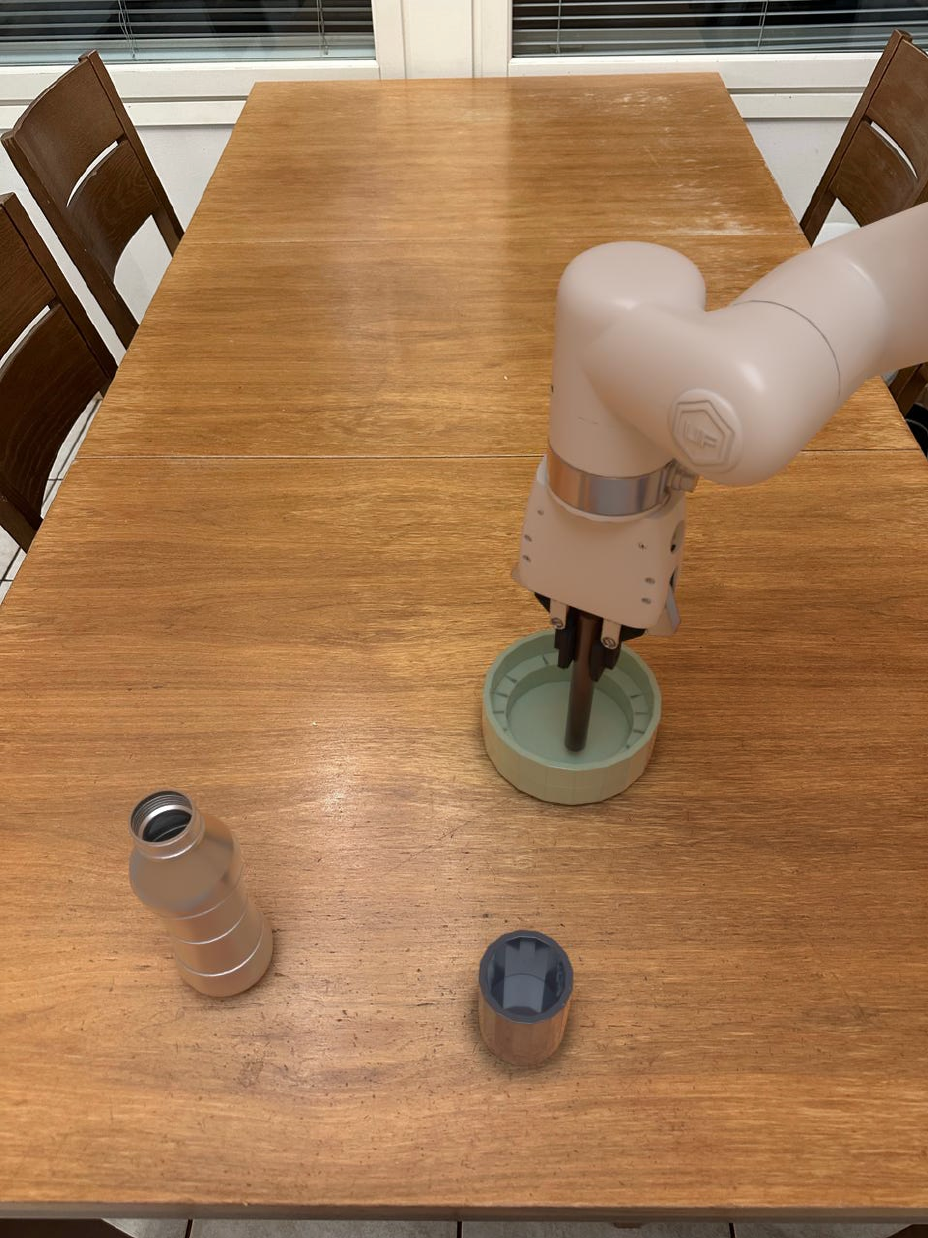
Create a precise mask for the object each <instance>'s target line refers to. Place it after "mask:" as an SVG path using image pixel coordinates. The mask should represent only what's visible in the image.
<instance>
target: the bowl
mask: <svg viewBox="0 0 928 1238" xmlns="http://www.w3.org/2000/svg"><path fill="white" fill-rule="evenodd" d="M555 629H556V628H551V629H542V630H539V631H536V632H533V633H531V634H529V635H526V636H525V635H524V636H523V637H520V638H518V639H516V641H514V642H513V643H511V644H510V645H509V646H507V647H506V648H504V649H503V650H502V651H500V652H499V653H498V655H497V656H496V658H495V659H494V661H493V662H492V664H491V665H490V666H489V668H488V670H487V671H486V673H485V678H484V683H483V687H482V692H481V711H482V712H481V717H482V718H481V723H482V724H481V730H482V731H481V732H482V737H483V742H484V747H485V748H484V749H485V751H486V754H487V755H488V757H489V759H490V761H491V762H492V764H493V765H494V767H495V769H496V771H497V772H498V773H499V774H500V775H501V776H502V777H503V778H505V779H506V780H507V782H509V783H510V784H511V785H512V786H513V787H515V788H516V789H517V790H519V791H522V792H524V793H525V794H527V795H530V796H532V797H534V798H536V799H539V800H540V801H544V802H550V803H554V804H555V803H556V804H562V805H570V806H572V805H573V806H575V805H583V804H591V803H599V802H602V801H604V800H605V801H606V800H607V799H610V798H611V797H614V796H615V795H618V794H621V793H623V792H625V791H626V790H627V789H628V788H629V787H630V786H631V785H633V783H634V782H635V781H637V780H638V779H639V778H640V777H641V776H642V775H643V773H644V772H645V769H646V767H647V765H648V763H649V761H650V759H651V757H652V755H653V752H654V747H655V743H656V739H657V736H658V731H659V727H660V721H661V716H662V701H663V699H662V698H663V696H662V693H661V689H660V686H659V684H658V681H657V679H656V675H655V673H654V672H653V670H652V669H651V668H650V666H649V665H648V664H647V663H646V661H645V660H644V659H643V657H641V656H640V654H639V653H637V652H636V651H634V650H633V649H632V648H630V647H628V646H627V645H626V644H625V643H624V642H622V644H621V650H620V655H619V658H618V661H617V663H616V665H615V667H614V668H613V670H610V669H607V668H605V670H604V672H603V674H602V675H601V677H600V679H599V681H598V682H595V685H594V692H593V700H592V707H591V714H590V721H589V728H588V735H587V742H586V746H585V748H584V749H583V750H581V751H579V752H573V751H570V750H568V749H567V748H566V746H565V744H564V738H565V729H566V720H567V711H568V702H569V693H570V684H571V674H572V665H573V661H572V663H571V664H570V666H569V668H568V669H566V668H565V669H561V668H559V667H558V655H559V650H558V649H556V648H554V641H555Z"/></svg>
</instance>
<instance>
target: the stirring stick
mask: <svg viewBox="0 0 928 1238" xmlns="http://www.w3.org/2000/svg"><path fill="white" fill-rule="evenodd" d="M603 623H604V618H603V617H600V616H597V615H594V614H592V613H589V612H586V611H583V610H581V609H579V611H578V620H577V629H576V638H575V647H574V656H573V665H572V674H571V684H570V693H569V702H568V711H567V720H566V729H565V738H564V744H565V746H566V748H567V749H568V750H570V751H573V752H579V751H581V750H583V749H584V748H585V746H586V742H587V735H588V728H589V721H590V714H591V707H592V700H593V692H594V685H595V682H594V681H592V680H590V678H589V669H590V661H591V653H592V646H593V644H594V642H595V640H596V638H597V637H598V635H599V634H600V632H601V630H602V629H603Z"/></svg>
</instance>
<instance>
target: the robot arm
mask: <svg viewBox="0 0 928 1238" xmlns="http://www.w3.org/2000/svg"><path fill="white" fill-rule="evenodd" d="M555 301H556V302H555V315H554V316H555V317H554V332H553V346H552V347H553V349H552V365H551V380H550V381H551V382H550V394H549V395H550V396H549V397H550V399H549V414H548V429H547V443H546V445H547V446H546V452H545V454H544V455H543V457H542V459H541V461H540V462H539V464H538V466H537V469H536V472H535V474H534V477H533V480H532V484H531V487H530V489H529V494H528V497H527V501H526V507H525V510H524V515H523V520H522V526H521V532H520V539H519V546H518V557H517V562H516V564H515V565H514V566H513V568H512V570H511V571H510V574H509V575H510V578H511V580H513V581H514V582H515V583H517V584H518V585H520V586H521V587H522V588H524V589H525V590H527V591H528V592H530V593H532V592H533V594H534V598H536V600H537V601H538V602H539V603H540V605H541V606H542V607H543V608H544V609H545V610H546V612H547V613H548V614H549V618H548V619H549V620H548V621H549V624H550V626H551V627H553V629H555V641H554V648H556V649H558V650H559V655H558V667H559V668H561V669H565V668H566V669H568V668H569V666H570V664H571V663H572V661H573V656H574V647H575V638H576V629H577V620H578V611H579V609H581V610H583V611H586V612H589V613H592V614H594V615H597V616H600V617H603V618H604V622H603V629H602V630H601V632H600V634H599V635H598V637H597V638H596V640H595V642H594V644H593V646H592V653H591V661H590V669H589V678H590V680H592V681H594V682H598V681H599V679H600V677H601V675H602V674H603V672H604V670H605V668H607V669H610V670H613V668H614V667H615V665H616V663H617V661H618V658H619V655H620V650H621V644H622V643H624V642H627V641H631V640H634V639H637V638H640V637H643V636H644V635H648V636H649V637H660V638H661V637H662V638H673V637H675V635H676V633H677V631H678V630H679V628H680V625H681V624H682V619H681V616H680V613H679V609H678V605H677V602H676V601H677V600H676V599H675V593H676V592H677V588H678V587H679V586H678V585H679V583H680V579H681V576H682V575H681V574H682V569H683V564H684V563H683V562H684V553H685V546H686V545H685V544H686V534H687V533H686V532H687V517H688V516H687V513H688V512H687V510H688V509H687V495H686V494H687V493H691V494H693V493H694V492H695V490H696V488H697V485H698V483H699V480H700V477H701V478H704V479H705V480H707V481H710V482H713V483H716V484H718V485H721V486H727V487H731V488H746V487H752V486H755V485H759V484H761V483H764V482H766V481H768V480H769V479H771V478H773V477H775V476H777V474H779V473H780V472H782V470H784V469H785V468H786V467H787V466H788V465H789V464H790V463H791V462H792V461H793V460H794V459H795V458H796V457H797V456H798V455H799V454H800V453H801V452H802V450H804V448H805V447H806V446H807V445H808V444H809V443H810V442H811V441H812V439H813V438H814V437H815V436H816V435H817V434H818V433H819V432H820V431H821V430H822V429H823V428H824V427H825V426H826V424H827V423H828V422H829V421H830V420H831V419H832V417H833V416H835V414H836V413H837V412H838V411H839V410H840V409H841V408H842V407H843V406H844V404H846V402H847V401H848V400H849V399H850V398H851V397H852V396H854V394H855V393H856V392H857V391H858V390H859V389H860V388H862V386H863V385H864V384H865V383H866V382H867V381H869V380H871V379H874V378H876V377H879V376H882V375H886V374H888V373H891V372H895V371H898V370H902V369H905V368H909V367H912V366H917V365H920V364H924V363H927V362H928V201H926V202H923V203H921V204H918V205H915V206H913V207H910V208H907V209H905V210H902V211H899V212H897V213H894V214H891V215H889V216H886V217H884V218H882V219H879V220H876V221H874V222H871V223H868V224H867V225H864V226H861V227H859V228H856V229H853V230H852V231H848V232H846V233H844V234H841V235H839V236H836V237H833V238H831V239H829V240H826V241H824V242H821V243H819V244H817V245H815V246H813V247H810V248H808V249H806V250H804V251H801V252H800V253H798V254H796V255H794V256H792V257H790V258H788V259H786V260H785V261H783V262H782V263H780V264H778V265H777V266H776V267H774V268H773V269H771V270H770V271H768V273H766V274H765V275H763V276H762V277H761V278H759V279H758V280H757V281H756V282H754V283H753V284H752V285H750V286H749V287H748V288H747V289H745V290H744V291H743V292H742V293H741V294H739V295H738V296H737V297H736V298H735V299H734V300H732V301H730V303H729V304H728V305H726V306H725V307H721V308H718V309H717V308H716V309H713V310H709V311H707V310H706V305H707V287H706V283H705V279H704V277H703V275H702V273H701V271H700V269H699V267H698V266H697V265H696V264H695V263H694V262H693V261H692V260H691V259H690V258H688V257H687V256H686V255H684V254H683V253H681V252H680V251H678V250H675V249H673V248H670V247H668V246H666V245H665V246H664V245H661V244H659V243H654V242H648V241H640V240H619V241H611V242H606V243H605V242H604V243H602V244H599V245H595V246H592V247H590V248H589V249H586V250H584V251H582V252H581V253H579V254H578V255H576V256H575V257H574V258H573V259H572V260H571V261H570V262H569V263H568V265H567V266H566V267H565V269H564V272H563V273H562V275H561V276H560V279H559V283H558V286H557V293H556V300H555Z"/></svg>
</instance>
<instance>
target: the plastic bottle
mask: <svg viewBox="0 0 928 1238" xmlns="http://www.w3.org/2000/svg"><path fill="white" fill-rule="evenodd" d="M127 827H128V832H129V834H130V836H131V838H132V841H133V842H132V843H133V844H134V845H133V846H132V850H131V852H130V855H129V859H128V860H129V861H128V880H129V885H130V887H131V889H132V892H133V894H134V895H135V896H136V897H137V899H138V900H139V902H141V904H142V905H143V906H144V907H145V908H146V909H147V910H148V911H150V913H151V914H152V915H153V916H155V917H156V919H158V920H159V921H160V923H161V924H162V926H163V927H164V928H165V930H166V932H167V933H168V935H169V938H170V939H169V940H170V942H171V944H172V953H173V959H174V962H175V964H174V965H175V967H176V969H177V971H178V974H179V976H180V977H181V978H182V980H183V981H184V982H185V983H186V984H188V985H189V987H190V986H191V987H192V988H193V989H195V991H197V992H199V993H201V994H203V995H205V996H210V997H214V998H225V997H231V996H234V995H238V994H240V993H243V992H245V991H246V990H248V989H250V988H251V987H252V986H254V985H255V984H256V983H258V982H259V980H260V979H261V978H262V977H263V976H264V975H265V973H266V971H267V969H268V968H269V966H270V963H271V961H272V957H273V951H274V936H273V934H274V933H273V930H272V927H271V923H270V922H269V920H268V918H267V917H266V916H265V914H264V913H263V911H262V910H261V908H259V907H258V905H256V904H255V903H254V902H253V900H252V898H251V896H250V895H249V893H248V890H247V887H246V883H245V878H244V867H243V866H244V864H243V854H242V850H241V845H240V841H239V839H238V837H237V835H236V834H235V831H233V830H232V828H231V827H230V826H229V825H227V824H226V823H225V822H224V821H223V820H221V819H220V818H218V817H217V816H215V815H212V814H211V813H208V812H203V811H200V809H199V807H197V806H196V803H195V802H194V800H193V799H192V798H191V797H190V795H188V794H187V793H186V792H184V791H182V790H179V789H174V788H163V789H157V790H154V791H152V792H149V793H148V794H146V795H144V796H142V797H141V798H140V799H139V800H137V802H136V803H135V804H134V805H133V806H132V808H131V810H130V812H129V814H128V818H127Z"/></svg>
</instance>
